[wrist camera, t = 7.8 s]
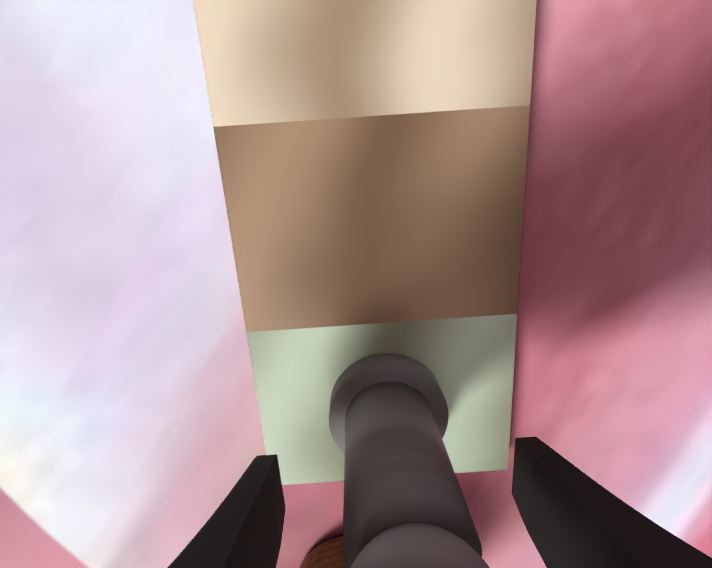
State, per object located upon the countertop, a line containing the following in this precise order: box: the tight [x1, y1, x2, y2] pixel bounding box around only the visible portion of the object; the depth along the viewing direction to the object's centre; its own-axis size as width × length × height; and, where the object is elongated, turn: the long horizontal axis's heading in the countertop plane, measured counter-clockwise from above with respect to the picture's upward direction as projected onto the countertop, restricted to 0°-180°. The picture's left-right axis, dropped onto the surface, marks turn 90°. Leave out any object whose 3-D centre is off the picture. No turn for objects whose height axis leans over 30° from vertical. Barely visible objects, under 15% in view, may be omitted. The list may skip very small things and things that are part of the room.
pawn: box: [329, 353, 489, 568], centre depth 9 cm, size 4×4×9 cm
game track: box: [193, 0, 537, 485], centre depth 12 cm, size 10×21×1 cm, turn 4°
